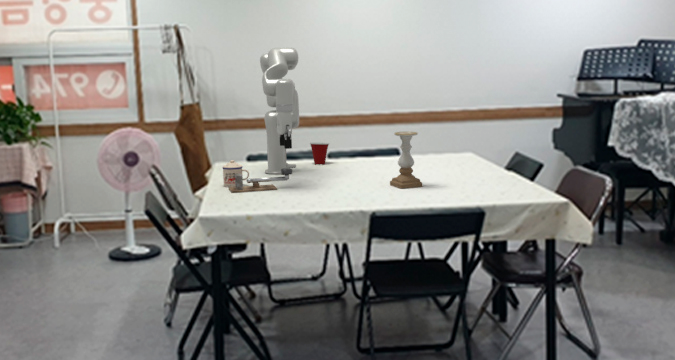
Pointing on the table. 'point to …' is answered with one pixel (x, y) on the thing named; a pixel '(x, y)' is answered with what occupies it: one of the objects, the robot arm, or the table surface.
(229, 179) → the teacup with lid
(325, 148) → the plastic cup
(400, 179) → the candle holder
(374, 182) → the table surface
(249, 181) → the hook rod
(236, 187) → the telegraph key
